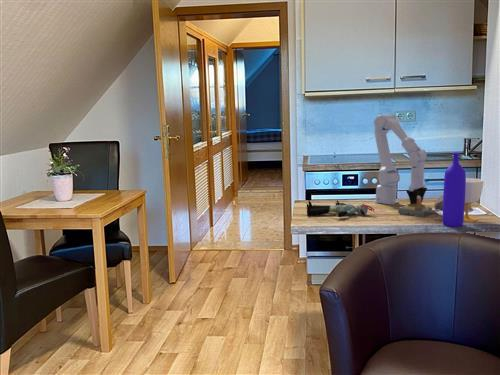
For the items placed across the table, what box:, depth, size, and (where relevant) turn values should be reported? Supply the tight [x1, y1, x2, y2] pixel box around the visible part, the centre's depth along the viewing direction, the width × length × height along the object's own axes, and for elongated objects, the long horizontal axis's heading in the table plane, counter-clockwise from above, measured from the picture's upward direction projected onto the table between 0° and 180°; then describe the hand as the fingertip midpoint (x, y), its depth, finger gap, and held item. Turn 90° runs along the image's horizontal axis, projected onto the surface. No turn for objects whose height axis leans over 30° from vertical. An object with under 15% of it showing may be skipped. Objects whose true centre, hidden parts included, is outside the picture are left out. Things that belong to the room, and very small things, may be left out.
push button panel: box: [398, 203, 433, 218], centre depth 233 cm, size 12×9×4 cm
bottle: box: [442, 151, 467, 228], centre depth 209 cm, size 8×8×30 cm
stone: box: [433, 194, 473, 212], centre depth 241 cm, size 17×10×10 cm
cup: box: [463, 177, 484, 222], centre depth 220 cm, size 12×12×17 cm
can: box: [416, 196, 422, 204], centre depth 244 cm, size 4×4×6 cm
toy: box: [306, 199, 375, 218], centre depth 235 cm, size 26×8×30 cm
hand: (416, 203), depth 244 cm, fingers open, 7 cm apart
